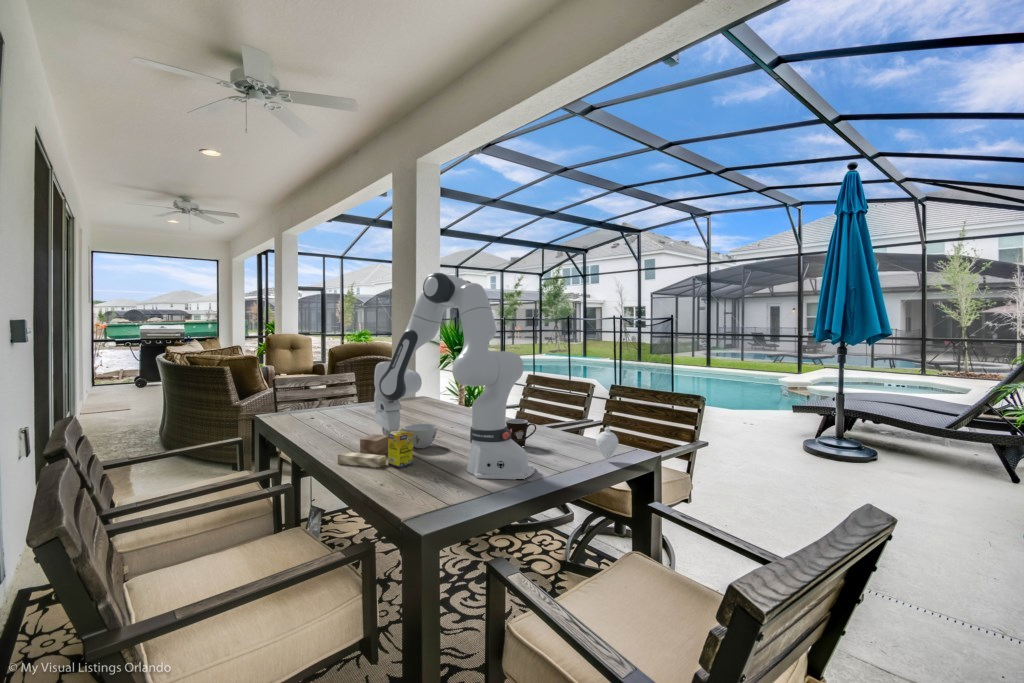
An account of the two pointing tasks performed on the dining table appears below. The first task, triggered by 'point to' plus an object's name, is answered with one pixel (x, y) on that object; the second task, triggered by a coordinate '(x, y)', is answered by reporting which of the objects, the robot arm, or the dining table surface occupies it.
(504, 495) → the dining table surface
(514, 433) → the coffee mug
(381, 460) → the beige long bar
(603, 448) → the spinning top
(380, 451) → the block
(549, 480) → the dining table surface
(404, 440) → the supplement box
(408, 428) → the teacup
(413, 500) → the dining table surface
